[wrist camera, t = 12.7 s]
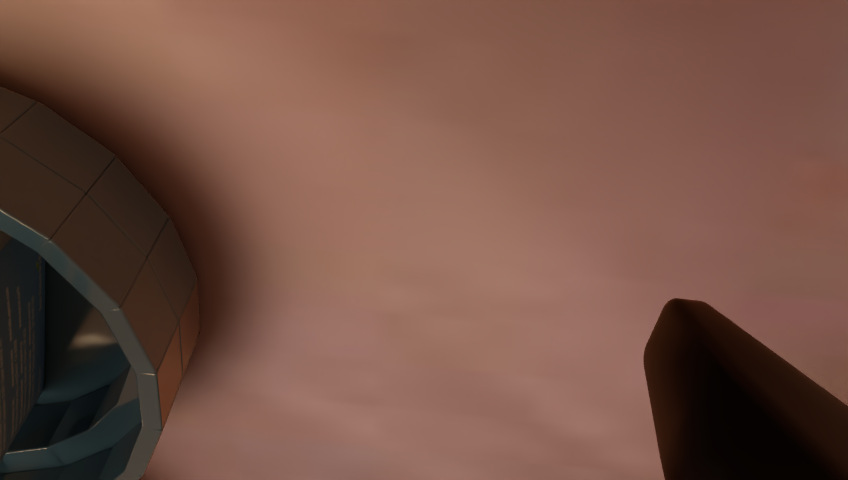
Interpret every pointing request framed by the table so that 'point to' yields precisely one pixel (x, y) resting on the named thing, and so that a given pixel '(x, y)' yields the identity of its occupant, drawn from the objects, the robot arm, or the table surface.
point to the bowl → (94, 300)
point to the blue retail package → (20, 335)
